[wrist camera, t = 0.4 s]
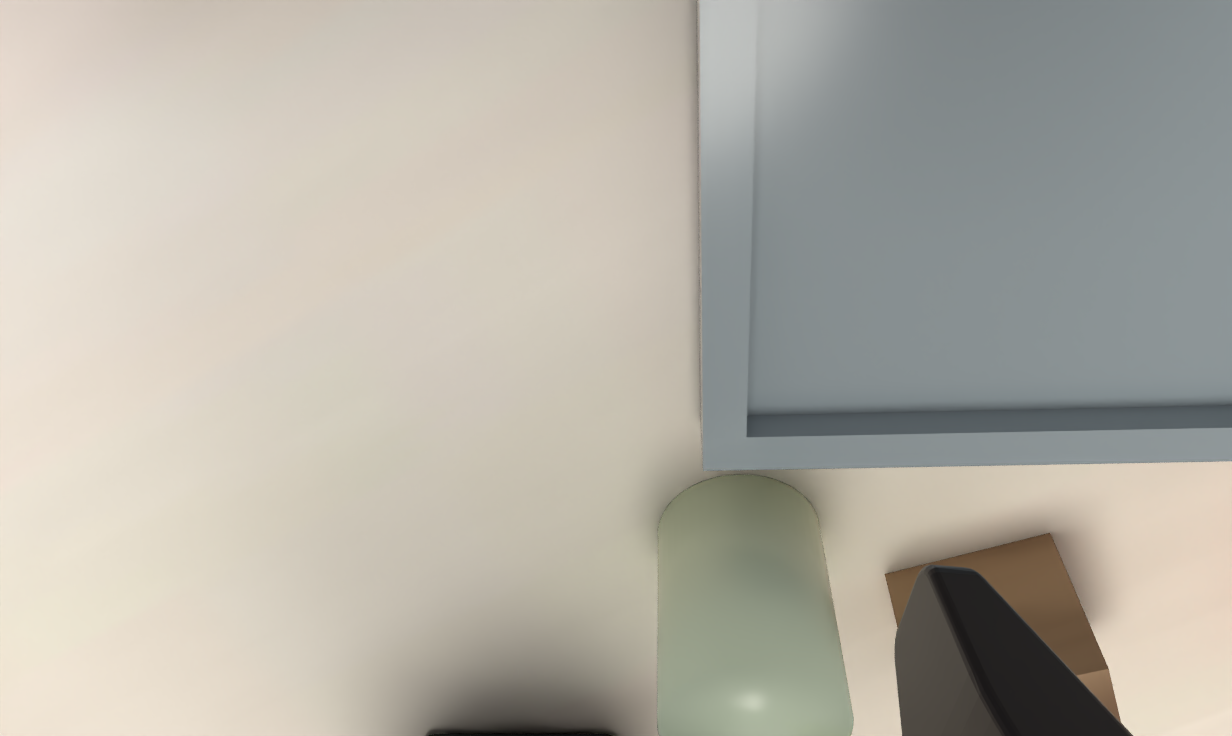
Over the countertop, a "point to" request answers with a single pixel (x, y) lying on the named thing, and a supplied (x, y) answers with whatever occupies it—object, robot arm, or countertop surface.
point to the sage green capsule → (746, 615)
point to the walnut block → (1031, 603)
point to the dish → (964, 232)
